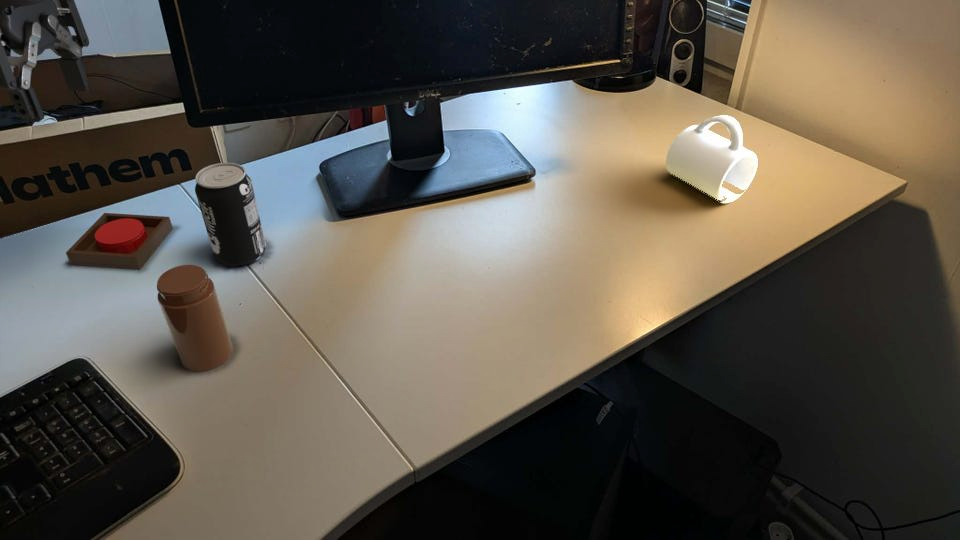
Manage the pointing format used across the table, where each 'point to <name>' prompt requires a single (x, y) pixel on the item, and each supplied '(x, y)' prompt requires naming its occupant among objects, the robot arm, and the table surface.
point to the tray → (91, 255)
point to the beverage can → (230, 213)
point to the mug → (712, 158)
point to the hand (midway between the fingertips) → (57, 104)
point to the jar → (194, 317)
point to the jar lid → (121, 236)
